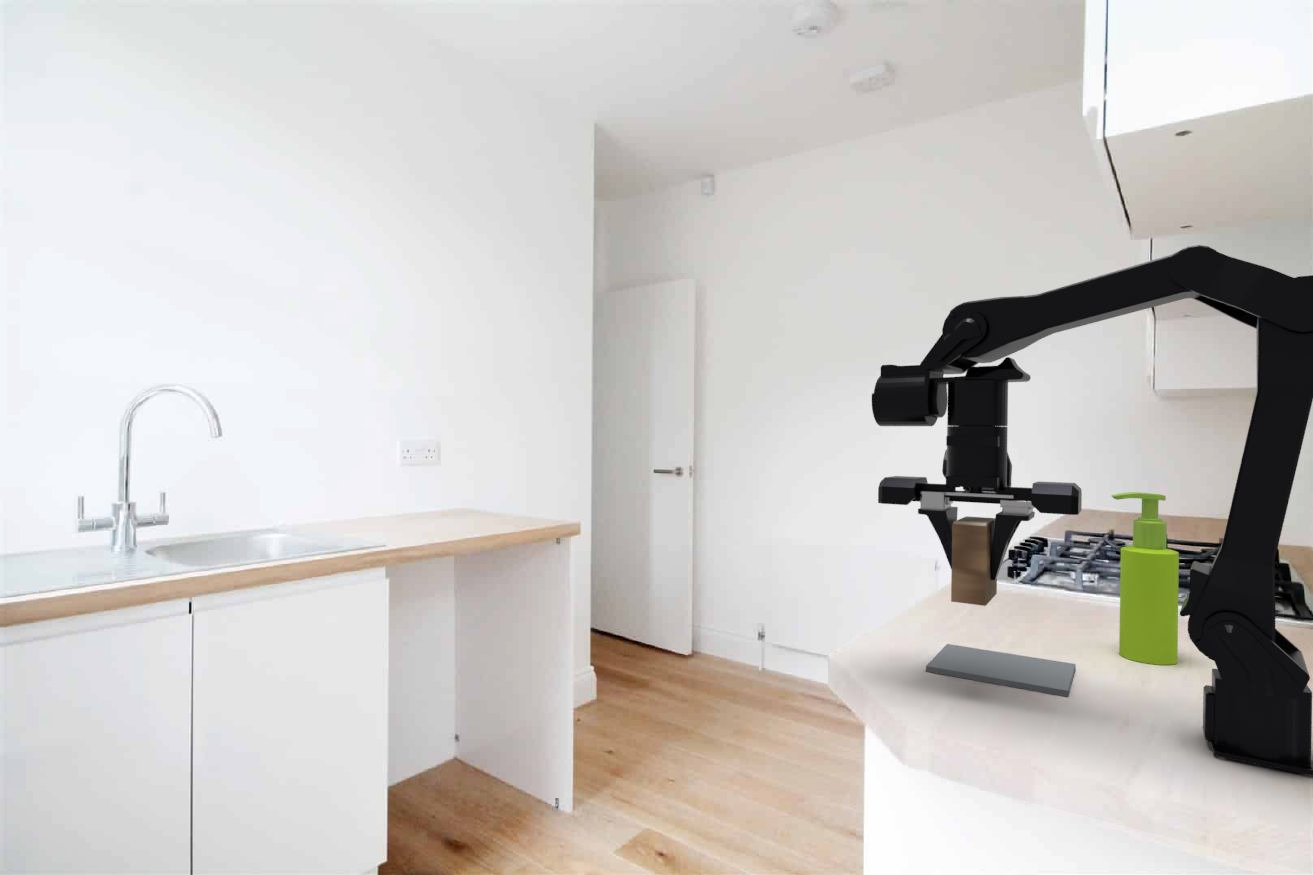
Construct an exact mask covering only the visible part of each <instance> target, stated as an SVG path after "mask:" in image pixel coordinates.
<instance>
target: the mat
mask: <svg viewBox="0 0 1313 875" xmlns="http://www.w3.org/2000/svg"><path fill="white" fill-rule="evenodd" d="M925 672H929V673H933V674H934V673H935V674H941V675H943V676H944V675H945V676H951V677H957V678H963V679H967V680H973V681H979V682H983V683H984V682H985V683H990V684H994V685H1000V686H1006V687H1012V688H1017V689H1023V690H1028V691H1033V692H1034V691H1035V692H1039V693H1040V692H1041V693H1046V694H1051V695H1057V696H1062V697H1068V698H1069V694H1070V690H1071V687H1072V683H1073V679H1074V676H1075V672H1076V663H1074V662H1073V663H1071V662H1065V661H1059V660H1053V659H1046V658H1040V657H1033V656H1028V655H1020V654H1014V653H1008V652H1002V651H997V650H996V651H995V650H988V649H982V648H976V647H971V646H970V647H969V646H963V645H958V644H957V645H956V644H950V643H946V645H944V646H943V647H942V648H941V650H940V651H939V652H938V653H937V654H936V655H935V656H934V657H933V658H932V659H931V660H930V661H929V662H928V664H927V665H926V666H925Z"/></svg>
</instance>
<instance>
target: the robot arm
mask: <svg viewBox="0 0 1313 875" xmlns="http://www.w3.org/2000/svg"><path fill="white" fill-rule="evenodd" d="M1185 299H1193V300H1195V301H1197V302H1200V303H1202V304H1204V305H1206V306H1208V307H1210V308H1212V309H1214V310H1216V311H1218V312H1220V313H1221V314H1224V315H1226V316H1228V317H1229V318H1232V319H1233V320H1235V321H1238V322H1239V323H1242V324H1244V325H1247V326H1249V327H1252V328H1254V329H1256V353H1255V354H1256V358H1255V359H1256V395H1255V399H1254V403H1253V409H1252V413H1251V416H1250V421H1249V426H1248V428H1247V429H1248V430H1247V434H1246V438H1245V444H1244V447H1243V452H1242V456H1241V460H1240V465H1239V469H1238V474H1237V479H1236V483H1235V487H1234V492H1233V495H1232V498H1231V505H1230V509H1229V512H1228V513H1229V514H1228V517H1227V521H1226V526H1225V530H1224V535H1223V539H1222V543H1221V546H1220V548H1219V550H1218V552H1217V554H1216V555H1215V557H1214V560H1213V562H1212V564H1211V565H1210V566H1209V565H1207V564H1205V563H1201V562H1200V561H1196V560H1195V561H1193V562H1192V564H1191V567H1190V570H1189V593H1188V595H1187V596H1186V597H1185V598H1184V600H1183V602H1182V605H1181V608H1180V611H1179V616H1180V617H1187V616H1189V617H1188V621H1187V633H1188V637H1189V640H1190V641H1191V642H1192V643H1193V645H1194V646H1195V647H1196V648H1197V650H1198V651H1199V652H1200V653H1202V654H1203V655H1204V656H1206V657H1207V658H1208V659H1210V660H1212V661H1213V662H1214V664H1215V666H1216V668H1212V669H1211V685H1208V684H1206V685H1204V686H1203V687H1202V688H1203V689H1202V690H1203V692H1202V694H1203V696H1202V699H1203V700H1202V733H1203V737H1204V740H1206V741H1207V742H1209V743H1210V746H1211V751H1212V753H1213V755H1214V756H1216V757H1219V758H1222V759H1223V758H1224V759H1227V760H1232V761H1237V762H1238V761H1239V762H1242V763H1243V762H1244V763H1248V764H1253V765H1257V766H1259V765H1260V766H1263V767H1269V768H1273V769H1279V770H1283V771H1288V772H1293V773H1297V774H1298V773H1299V774H1304V775H1309V776H1313V760H1312V736H1313V735H1312V731H1313V730H1312V727H1313V726H1312V723H1313V720H1312V719H1313V691H1312V690H1311V688H1310V687H1309V686H1308V683H1309V682H1310V679H1311V678H1310V676H1311V675H1310V674H1309V671H1308V666H1307V664H1306V661H1305V659H1304V655H1303V652H1302V651H1301V650H1300V648H1298V647H1297V646H1296V645H1295V644H1294V643H1292V642H1291V641H1290V639H1288V638H1287V637H1286V636H1285V635H1284V634H1283V633H1281V631H1279V630H1278V629H1277V628H1276V572H1275V571H1276V570H1275V569H1276V568H1275V566H1276V564H1275V563H1276V562H1275V561H1276V556H1277V552H1278V548H1279V543H1280V539H1281V536H1282V531H1283V528H1284V527H1283V526H1284V522H1285V518H1286V515H1287V510H1288V505H1289V501H1290V499H1291V498H1290V497H1291V493H1292V489H1293V485H1294V480H1295V477H1296V476H1295V475H1296V472H1297V467H1298V463H1299V459H1300V454H1301V450H1302V448H1303V442H1304V438H1305V434H1306V430H1307V426H1308V421H1309V417H1310V412H1311V409H1312V404H1313V275H1303V276H1300V275H1299V276H1296V277H1292V276H1291V275H1287V274H1285V273H1282V272H1281V271H1278V270H1275V269H1273V268H1270V267H1267V266H1264V265H1259V264H1256V263H1254V262H1253V263H1252V262H1249V261H1245V260H1243V259H1238V258H1236V257H1232V256H1229V255H1226V254H1224V253H1221V252H1219V251H1218V250H1216V249H1214V248H1212V247H1210V246H1209V245H1208V246H1207V245H1201V244H1197V245H1190V246H1186V247H1184V248H1182V249H1180V250H1179V251H1176V252H1174V253H1172V254H1169V255H1165V256H1163V257H1160V258H1159V257H1158V258H1156V259H1151V260H1148V261H1146V262H1143V263H1138V264H1135V265H1133V266H1128V267H1126V268H1122V269H1119V270H1116V271H1111V272H1109V273H1105V274H1102V275H1098V276H1096V277H1092V278H1088V279H1085V280H1082V281H1081V280H1080V281H1078V282H1075V283H1071V284H1069V285H1064V286H1061V287H1058V288H1054V289H1051V290H1048V291H1045V292H1041V293H1036V294H1031V295H1030V294H1029V295H1019V296H1017V295H1015V296H999V297H992V298H984V299H977V300H971V301H966V302H962V303H960V304H958V305H956V306H954V307H953V308H952V309H951V310H950V311H949V313H948V315H947V317H945V318H946V319H944V322H943V326H942V329H941V330H942V331H941V332H942V334H941V335H940V337H939V338H938V339H937V341H936V342H935V343H934V345H933V346H932V347H931V349H930V350H929V351H928V353H927V354H926V355H925V357H924V358H923V359H922V361H921V362H920V363H919V364H917V365H916V364H914V365H913V364H911V365H896V364H882V365H881V366H880V376H879V377H878V378H877V380H876V382H875V386H874V389H873V392H872V393H871V409H872V411H871V412H872V415H873V417H874V421H875V423H876V424H877V425H878V426H880V427H933V426H935V424H936V423H937V421H938V419H939V418H943V417H944V416H945V415H946V413H947V422H946V424H947V427H946V431H947V432H946V449H945V451H944V456H943V459H942V460H943V461H942V470H941V471H942V475H943V477H944V478H945V483H928V479H927V476H905V475H904V476H903V475H902V476H901V475H894V476H885V477H883V479H882V480H880V482H879V485H878V492H877V493H878V495H877V497H878V498H877V503H878V504H883V505H897V506H898V505H899V506H901V505H902V506H907V505H909V504H911V502H919V503H920V508H917V514H918V515H925V516H927V518H928V520H929V522H930V523H931V525H932V528H933V529H934V531H935V533H936V535H937V537H938V539H939V541H940V543H941V546H942V548H943V551H944V553H945V556H946V559H947V561H948V565H949V568H950V570H951V571H952V524H953V523H954V522H955V521H957V520H958V510H959V509H958V506H952V504H953V503H954V502H957V503H958V502H960V503H978V504H997V505H1000V506H999V508H1002V510H1001V511H999V512H998V513H996V514H995V517H994V518H995V527H994V536H993V545H992V554H991V563H990V572H991V580H996V578H997V579H998V576H999V573H1000V571H1001V567H1002V564H1003V562H1004V559H1005V557H1006V554H1007V551H1008V550H1009V549H1008V548H1009V545H1010V542H1011V541H1012V539H1013V537H1014V535H1015V533H1016V532H1017V529H1018V528H1019V526H1020V524H1021V522H1030V521H1031V520H1032V519H1033V518H1034V517H1035V514H1036V512H1035V511H1034V509H1036V511H1038V513H1040V514H1055V515H1067V516H1068V515H1069V516H1070V515H1072V516H1077V515H1080V514H1081V512H1082V499H1083V498H1082V496H1083V495H1082V494H1083V493H1082V488H1081V487H1080V486H1079V485H1078V484H1077V483H1076V482H1058V481H1057V482H1056V481H1035V482H1033V483H1032V487H1022V486H1020V487H1018V486H1012V473H1013V464H1012V461H1011V458H1010V455H1009V453H1008V426H1009V425H1008V421H1009V420H1008V418H1009V417H1008V416H1009V414H1008V412H1009V408H1008V407H1009V383H1022V382H1023V383H1026V382H1030V380H1031V374H1029V373H1027V372H1026V371H1025V370H1023V369H1022V368H1021V367H1020V366H1019V365H1018V364H1017V362H1016V360H1015V359H1014V358H1012V357H1009V356H1010V355H1012V354H1015V353H1017V352H1019V351H1022V350H1024V349H1025V348H1028V347H1030V346H1031V345H1032V344H1035V343H1036V342H1038V341H1040V340H1042V339H1044V338H1046V337H1048V336H1051V335H1053V334H1056V333H1057V334H1058V333H1060V332H1063V331H1068V330H1073V329H1075V328H1078V327H1083V326H1087V325H1091V324H1093V323H1097V322H1101V321H1105V320H1108V319H1114V318H1116V317H1120V316H1124V315H1128V314H1132V313H1136V312H1140V311H1143V310H1144V311H1145V310H1147V309H1151V308H1155V307H1159V306H1162V305H1166V304H1169V303H1173V302H1178V301H1181V300H1185ZM1003 358H1004V359H1003ZM1001 359H1003V360H1002V362H1001V363H999V364H998V365H986V366H985V365H983V366H981V365H980V366H976V365H978V364H989V363H993V362H996V361H998V360H1001ZM964 373H965V375H963V376H961V375H962V374H964ZM944 375H959V376H948V377H947V376H945V377H944ZM961 487H962V490H956V488H961Z"/></svg>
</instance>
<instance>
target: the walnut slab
mask: <svg viewBox="0 0 1313 875" xmlns="http://www.w3.org/2000/svg"><path fill="white" fill-rule="evenodd" d="M995 518H996V517H984V516H983V517H982V516H981V517H980V516H964V517H962V518H959V519H957V521H955V522H954V523H953V524H952V570H951V583H950V585H951V589H950V591H951V593H950V596H951V597H950V602H951V603H952V602H953V603H959V604H967V605H975V606H983V607H984V606H985V607H986V606H987V605H988V604H989V603H990V602H991V601H992V599H993V598H994V597H995V596H996V595H997V593H998V591H997V588H998V587H997V586H998V582H997V581H998V580H997V579H998V577H997V578H996V580H991V572H990V563H991V554H992V545H993V536H994V527H995Z"/></svg>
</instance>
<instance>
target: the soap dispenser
mask: <svg viewBox="0 0 1313 875" xmlns="http://www.w3.org/2000/svg"><path fill="white" fill-rule="evenodd" d="M1111 497H1112V498H1113V499H1115V500H1118V501H1119V500H1125V499H1141V517H1138V518H1137V519H1134V520H1133V522H1132V524H1133V525H1132V526H1133V527H1132V545H1127V546H1122V547H1121V548H1120V570H1119V571H1120V573H1119V574H1120V581H1119V583H1120V584H1119V639H1118V640H1119V642H1118V643H1119V644H1118V646H1119V647H1118V650H1119V651H1118V653H1119V654H1118V655H1120V656H1121V657H1122V658H1124V659H1127V660H1131V661H1134V662H1139V663H1142V664H1150V665H1158V666H1172V665H1176V664H1177V663H1178V651H1179V650H1178V645H1179V644H1178V642H1179V640H1178V638H1179V636H1178V635H1179V632H1178V629H1179V586H1180V585H1179V584H1180V583H1179V582H1180V581H1179V578H1180V577H1179V576H1180V573H1179V572H1180V568H1179V566H1180V564H1179V563H1180V553H1179V551H1176V550H1173V549H1170V548H1167V526H1168V524H1167V521H1163V520H1162V518H1159V503H1160V502H1159V501H1166V500H1167V498H1166V495H1164V494H1159V493H1151V492H1150V493H1149V492H1148V493H1147V492H1139V491H1138V492H1137V491H1135V492H1133V491H1132V492H1129V491H1128V492H1121V493H1116V494H1111Z"/></svg>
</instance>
